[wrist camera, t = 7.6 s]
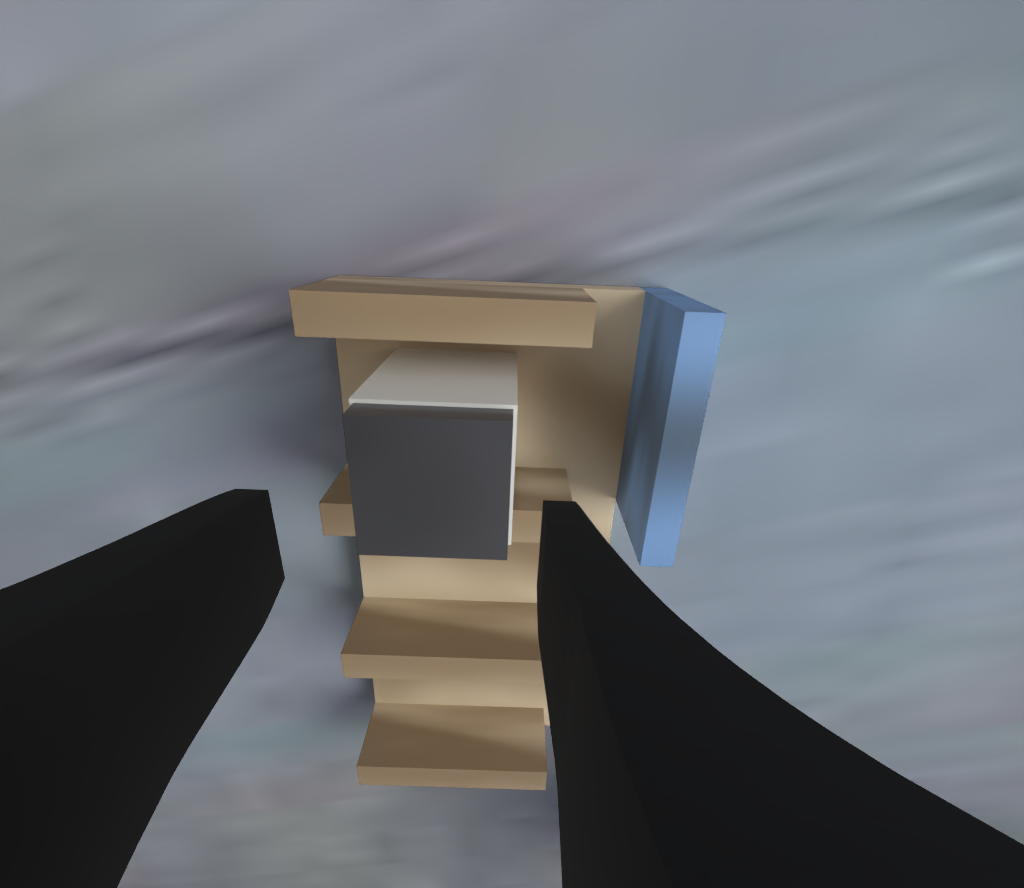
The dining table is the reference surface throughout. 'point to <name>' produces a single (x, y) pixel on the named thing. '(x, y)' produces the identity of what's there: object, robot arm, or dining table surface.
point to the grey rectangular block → (434, 454)
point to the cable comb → (538, 476)
